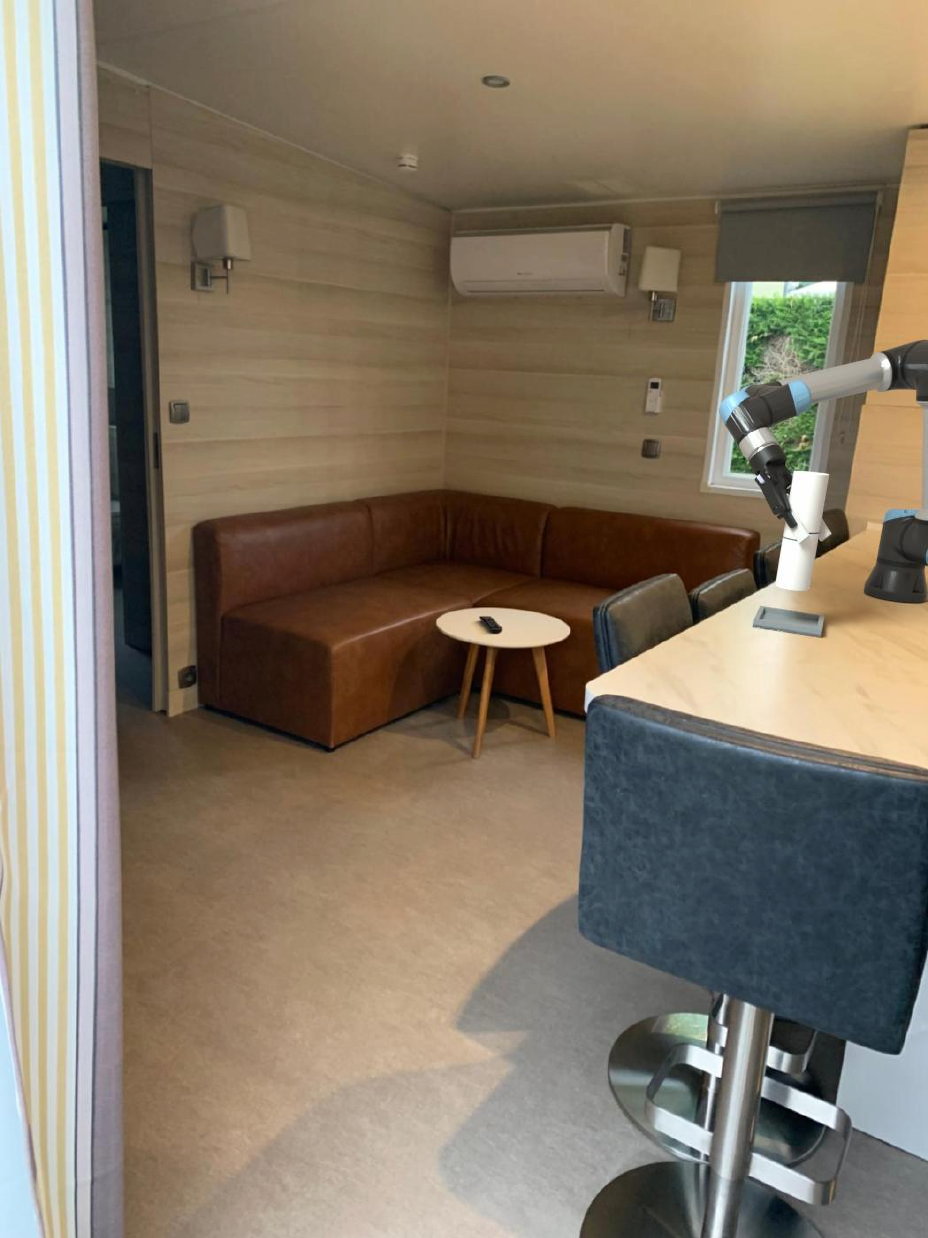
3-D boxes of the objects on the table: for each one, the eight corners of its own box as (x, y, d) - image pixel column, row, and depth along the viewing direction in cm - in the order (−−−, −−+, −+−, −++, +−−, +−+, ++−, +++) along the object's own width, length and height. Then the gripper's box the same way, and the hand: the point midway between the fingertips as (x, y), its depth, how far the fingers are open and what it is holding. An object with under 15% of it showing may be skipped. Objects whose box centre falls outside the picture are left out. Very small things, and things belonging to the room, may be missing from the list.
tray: (823, 622, 202) (824, 615, 201) (820, 637, 189) (821, 629, 189) (759, 613, 207) (760, 605, 207) (752, 626, 195) (753, 619, 194)
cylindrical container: (811, 592, 192) (832, 476, 185) (777, 588, 193) (796, 473, 187) (806, 585, 199) (825, 472, 192) (773, 581, 200) (791, 469, 193)
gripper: (778, 464, 207) (829, 545, 199) (723, 464, 195) (774, 551, 187) (802, 443, 201) (855, 526, 193) (746, 442, 190) (800, 530, 182)
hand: (815, 538), depth 190 cm, fingers closed on cylindrical container, 7 cm apart
